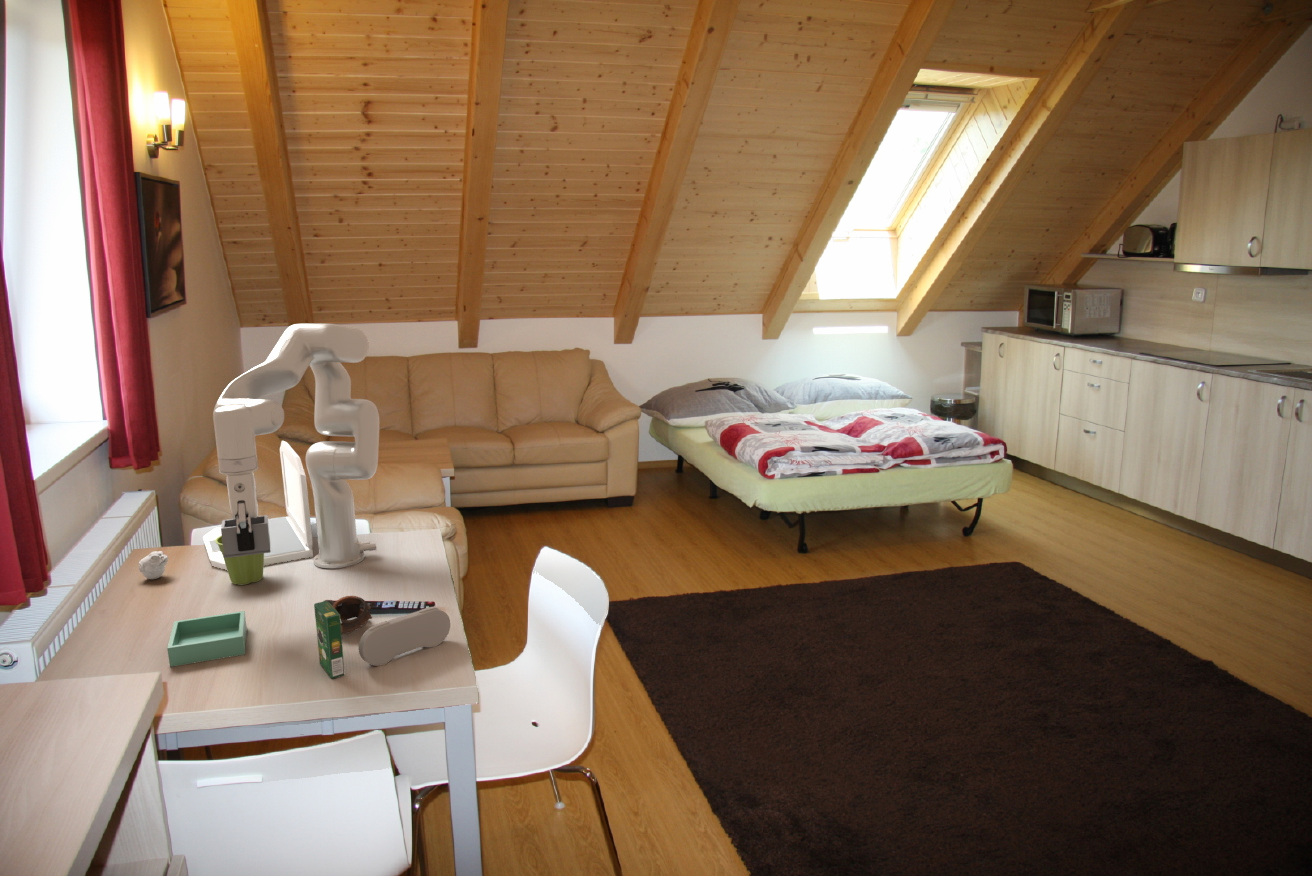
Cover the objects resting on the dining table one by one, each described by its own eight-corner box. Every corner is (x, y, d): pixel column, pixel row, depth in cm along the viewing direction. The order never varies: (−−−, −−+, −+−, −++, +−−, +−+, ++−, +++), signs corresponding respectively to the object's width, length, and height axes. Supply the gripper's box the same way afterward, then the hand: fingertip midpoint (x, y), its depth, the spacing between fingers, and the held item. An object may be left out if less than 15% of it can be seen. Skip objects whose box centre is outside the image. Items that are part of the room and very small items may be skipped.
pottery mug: (381, 620, 203) (379, 597, 198) (360, 654, 196) (357, 632, 191) (331, 604, 204) (327, 581, 199) (308, 637, 197) (304, 615, 192)
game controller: (446, 637, 194) (443, 600, 192) (452, 640, 192) (449, 603, 190) (359, 668, 181) (355, 628, 179) (364, 672, 179) (361, 632, 177)
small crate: (270, 543, 202) (267, 515, 200) (270, 552, 196) (267, 523, 194) (225, 548, 198) (222, 520, 197) (224, 558, 193) (220, 528, 191)
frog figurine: (163, 583, 224) (159, 556, 222) (134, 583, 224) (130, 556, 223) (176, 573, 230) (172, 547, 228) (148, 574, 230) (144, 547, 229)
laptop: (201, 538, 257) (189, 446, 251) (292, 523, 269) (283, 435, 263) (213, 576, 229) (200, 474, 223) (314, 557, 241) (304, 460, 235)
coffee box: (346, 676, 177) (340, 613, 174) (331, 680, 175) (325, 617, 172) (334, 660, 183) (328, 599, 180) (319, 664, 182) (313, 603, 179)
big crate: (246, 627, 199) (244, 610, 198) (244, 654, 186) (242, 636, 185) (176, 638, 194) (174, 621, 193) (169, 666, 181) (167, 648, 181)
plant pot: (274, 568, 233) (269, 526, 230) (270, 585, 222) (265, 541, 219) (223, 574, 229) (218, 531, 227) (217, 592, 218) (211, 547, 216)
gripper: (257, 471, 187) (265, 555, 190) (258, 453, 202) (266, 531, 206) (216, 475, 184) (226, 560, 188) (220, 457, 199) (229, 535, 203)
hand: (247, 544), depth 197 cm, fingers closed on small crate, 6 cm apart
